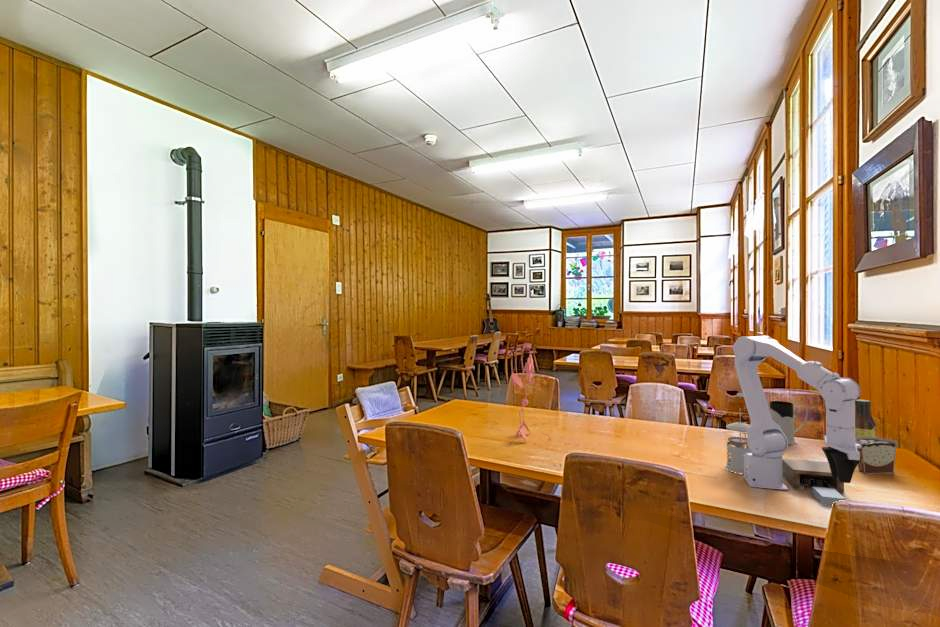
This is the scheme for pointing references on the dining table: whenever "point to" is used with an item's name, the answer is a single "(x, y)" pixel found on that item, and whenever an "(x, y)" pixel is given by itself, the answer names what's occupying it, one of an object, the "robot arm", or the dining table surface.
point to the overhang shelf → (809, 474)
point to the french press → (737, 446)
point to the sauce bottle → (864, 420)
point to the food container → (876, 455)
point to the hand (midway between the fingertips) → (841, 479)
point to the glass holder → (785, 418)
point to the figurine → (517, 380)
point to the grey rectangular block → (827, 495)
